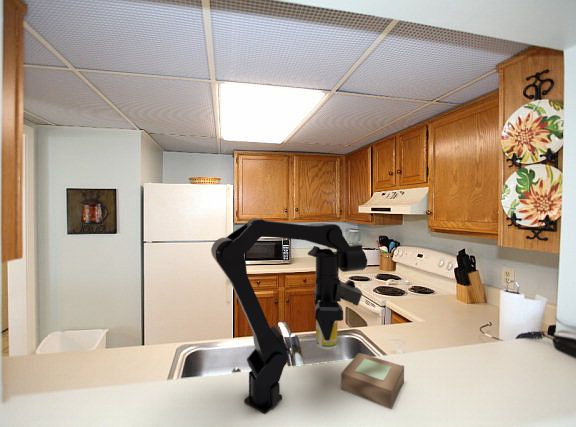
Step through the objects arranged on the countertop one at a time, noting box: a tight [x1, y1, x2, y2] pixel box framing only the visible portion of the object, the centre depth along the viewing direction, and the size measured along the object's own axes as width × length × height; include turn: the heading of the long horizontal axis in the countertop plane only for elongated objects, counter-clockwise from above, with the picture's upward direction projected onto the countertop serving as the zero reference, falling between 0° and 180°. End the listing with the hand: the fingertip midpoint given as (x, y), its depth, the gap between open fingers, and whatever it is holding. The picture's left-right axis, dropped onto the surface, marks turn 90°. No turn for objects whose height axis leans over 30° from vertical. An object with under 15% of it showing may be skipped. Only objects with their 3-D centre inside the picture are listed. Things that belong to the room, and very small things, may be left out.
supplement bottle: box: [315, 319, 339, 350], centre depth 72 cm, size 5×5×10 cm
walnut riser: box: [340, 352, 405, 409], centre depth 72 cm, size 12×12×4 cm
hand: (326, 334), depth 72 cm, fingers closed on supplement bottle, 5 cm apart
